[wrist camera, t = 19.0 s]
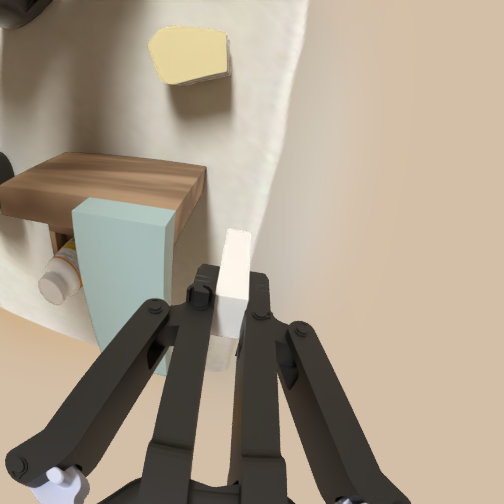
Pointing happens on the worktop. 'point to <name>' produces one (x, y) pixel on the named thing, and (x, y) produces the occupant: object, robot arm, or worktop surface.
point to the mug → (5, 170)
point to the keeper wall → (101, 187)
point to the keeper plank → (123, 262)
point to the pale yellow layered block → (190, 54)
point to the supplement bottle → (61, 275)
